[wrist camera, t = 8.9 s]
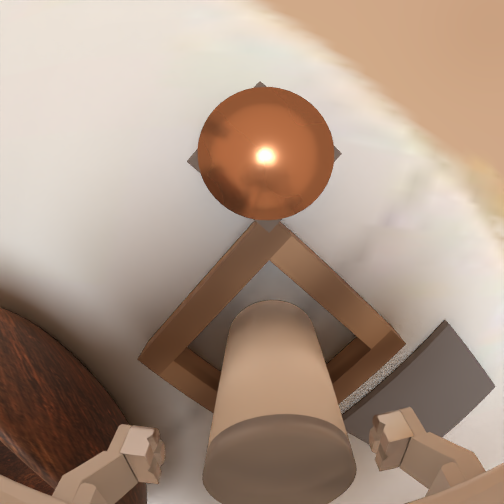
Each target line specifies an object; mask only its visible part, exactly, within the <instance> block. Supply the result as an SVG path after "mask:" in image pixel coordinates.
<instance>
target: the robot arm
mask: <svg viewBox="0 0 504 504" xmlns="http://www.w3.org/2000/svg"><path fill="white" fill-rule="evenodd" d="M372 423H373V427H372V428H371V429H370V433H369V443H370V447H371V450H372V452H374V453H376V457H375V461H376V464H377V466H378V469H379V471H383V470H388V469H392V468H396V467H400V468H401V469H402V470H403V471H405V472H406V473H407V474H409V475H410V476H412V477H413V478H414V479H416V480H417V481H418V482H420V483H421V484H423V485H424V486H425V487H427V488H428V489H429V490H428V492H427V494H426V495H425V497H424V498H421V499H418V500H415V501H412V502H408V503H405V504H504V463H502V464H500V465H498V466H496V467H495V468H493V469H491V470H489V471H487V472H486V471H485V469H484V468H483V466H482V465H481V463H480V461H479V460H478V458H477V457H476V455H475V454H474V452H472V451H469V450H467V449H465V448H463V447H461V446H458V445H456V444H454V443H452V442H450V441H448V440H446V439H443V438H441V437H439V436H437V435H435V434H433V433H431V432H428V433H426V431H425V429H424V428H423V426H422V424H421V422H420V421H419V419H418V417H417V416H416V414H415V413H414V411H413V409H412V408H411V407H408V408H403V409H399V410H395V411H391V412H386V413H381V414H377V415H374V417H373V420H372ZM159 438H160V432H159V430H158V429H157V428H152V427H143V426H134V425H125V424H121V425H120V426H119V427H118V429H117V431H116V433H115V435H114V437H113V440H112V442H111V444H110V446H109V448H108V450H107V451H103V452H101V453H100V454H98V455H96V456H95V457H93V458H91V459H90V460H88V461H86V462H85V463H83V464H81V465H80V466H78V467H76V468H75V469H73V470H71V471H70V472H68V473H66V474H64V475H63V476H62V478H61V480H60V481H59V483H58V485H57V487H56V489H55V491H54V493H53V495H52V496H50V495H48V494H45V493H42V492H40V491H37V490H34V489H32V488H30V487H27V486H25V485H22V484H20V483H18V482H15V481H13V480H11V479H9V478H7V477H5V476H2V475H0V504H115V503H116V502H117V501H118V500H119V499H120V498H122V497H123V496H124V495H125V494H126V493H127V492H128V491H129V490H131V489H132V488H133V487H134V486H135V485H136V484H137V483H138V482H145V483H154V484H158V483H159V479H160V476H161V472H162V471H161V469H160V466H161V465H162V464H164V461H165V446H164V443H163V441H161V440H160V439H159Z"/></svg>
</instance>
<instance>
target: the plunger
mask: <svg viewBox="0 0 504 504" xmlns="http://www.w3.org/2000/svg"><path fill="white" fill-rule="evenodd" d="M333 163H334V145H333V140H332V136H331V132H330V130H329V128H328V125H327V123H326V122H325V120H324V118H323V117H322V115H321V114H320V113H319V112H318V110H317V109H316V108H315V107H314V106H313V105H312V104H310V103H309V102H308V101H307V100H305V99H304V98H302V97H300V96H299V95H297V94H295V93H292V92H290V91H287V90H284V89H280V88H274V87H257V88H251V89H247V90H243V91H241V92H238V93H236V94H234V95H232V96H230V97H228V98H227V99H226V100H224V101H223V102H222V103H220V104H219V105H218V106H217V107H216V108H215V109H214V110H213V112H212V113H211V114H210V115H209V117H208V119H207V120H206V122H205V124H204V126H203V128H202V131H201V134H200V138H199V142H198V164H199V169H200V172H201V175H202V178H203V180H204V183H205V184H206V186H207V188H208V189H209V191H210V192H211V193H212V195H213V196H214V197H215V198H216V199H217V200H218V201H219V202H220V203H221V204H222V205H224V206H225V207H226V208H227V209H229V210H231V211H233V212H234V213H236V214H239V215H241V216H244V217H247V218H251V219H256V220H277V219H282V218H286V217H289V216H292V215H294V214H297V213H298V212H300V211H302V210H304V209H305V208H307V207H308V206H309V205H311V204H312V203H313V202H314V201H315V200H316V199H317V198H318V197H319V195H320V194H321V193H322V192H323V190H324V188H325V187H326V185H327V183H328V181H329V178H330V176H331V173H332V169H333Z"/></svg>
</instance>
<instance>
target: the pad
mask: <svg viewBox="0 0 504 504" xmlns="http://www.w3.org/2000/svg"><path fill="white" fill-rule="evenodd" d="M494 388H495V385H494V384H493V382H492V381H491V379H490V378H489V377H488V375H487V374H486V372H485V371H484V369H483V368H482V367H481V365H480V364H479V363H478V361H477V360H476V358H475V357H474V356H473V354H472V353H471V352H470V350H469V349H468V348H467V346H466V345H465V344H464V342H463V341H462V340H461V339H460V337H459V336H458V335H457V333H456V332H455V331H454V330H453V328H452V327H451V326H450V324H449V323H447V322H446V321H445V320H444V322H443V323H442V324H441V325H440V326H439V327H438V328H437V329H436V330H435V331H434V332H433V333H432V334H431V336H430V337H429V338H428V339H427V340H426V341H425V342H424V343H423V344H422V345H421V346H420V347H419V348H418V349H417V350H416V351H415V352H414V353H413V354H412V355H411V356H410V357H409V358H408V359H407V360H406V361H404V362H403V363H402V364H401V365H400V366H399V367H398V368H397V369H396V370H395V371H394V372H393V373H392V374H390V375H389V376H388V377H387V378H386V379H385V380H384V381H383V382H382V383H380V384H379V385H378V386H377V387H376V388H375V389H374V390H372V391H371V392H370V393H369V394H368V395H366V396H365V397H364V398H363V399H362V400H360V401H359V402H358V403H357V404H356V405H354V406H353V407H352V408H351V409H349V410H348V411H347V412H345V413H344V414H343V415H342V418H343V422H344V425H345V429H346V431H347V432H349V433H350V434H352V435H354V436H356V437H357V438H359V439H361V440H362V441H364V442H366V443H368V444H369V445H370V443H369V433H370V429H371V428H372V427H373V423H372V420H373V417H374V415H377V414H381V413H386V412H391V411H395V410H399V409H403V408H408V407H411V408H412V409H413V411H414V413H415V414H416V416H417V417H418V419H419V421H420V422H421V424H422V426H423V428H424V429H425V431H426V433H428V432H431V433H433V434H435V435H437V436H439V437H441V438H442V437H443V436H444V435H445V434H446V433H448V432H449V431H450V430H451V429H452V428H453V427H455V426H456V425H457V424H458V423H459V422H460V421H461V420H462V419H463V418H464V417H466V416H467V415H468V414H469V413H470V412H471V411H472V410H473V409H474V408H475V407H476V406H477V405H478V404H479V403H480V402H481V401H482V400H483V399H484V398H485V397H486V396H487V395H488V394H489V393H490V392H491V391H492V390H493V389H494Z"/></svg>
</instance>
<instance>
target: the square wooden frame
mask: <svg viewBox="0 0 504 504" xmlns="http://www.w3.org/2000/svg"><path fill="white" fill-rule="evenodd" d="M257 87H266V86H265V85H264V84H263V83H261V82H259V83H258V84H257V85H256V86H255V87H254V88H257ZM341 154H342V153H341V152H340V151H339V150H338V149H337V148H336V147H335V146H334V162H335V160H336V159H337V158H338V157H339V156H340V155H341ZM187 162H188V163H189V164H190V165H191V166H193V167H194V168H195V169H196V170H197V171H199V172H200V169H199V164H198V149H197V150H196V151H195V152H194V154H193V155H192V156H191V157H190V158H189V160H188V161H187ZM200 173H201V172H200ZM254 220H255V221H254V222H253V223H252V224H251V226H250V227H249V228H248V229H247V230H246V231H245V232H244V233H243V234H242V236H241V237H240V238H239V239H238V240H237V241H236V242H235V243H234V244H233V246H232V247H231V248H230V249H229V250H228V251H227V252H226V253H225V255H224V256H223V257H222V258H221V259H220V260H219V261H218V262H217V264H216V265H215V266H214V267H213V268H212V269H211V270H210V271H209V273H208V274H207V275H206V276H205V277H204V278H203V279H202V281H201V282H200V283H199V284H198V285H197V286H196V287H195V288H194V290H193V291H192V292H191V293H190V294H189V295H188V296H187V298H186V299H185V300H184V301H183V302H182V303H181V304H180V306H179V307H178V308H177V309H176V310H175V311H174V312H173V314H172V315H171V316H170V317H169V318H168V319H167V321H166V322H165V323H164V324H163V325H162V326H161V327H160V329H159V330H158V331H157V332H156V333H155V334H154V336H153V337H152V338H151V339H150V340H149V341H148V343H147V344H146V346H145V348H144V349H143V351H142V353H141V354H140V356H139V358H138V359H137V360H139V361H140V362H141V363H143V364H144V365H145V366H146V367H148V368H149V369H150V370H152V371H153V372H154V373H156V374H157V375H158V376H160V377H161V378H163V379H164V380H165V381H167V382H168V383H169V384H171V385H172V386H174V387H175V388H177V389H178V390H179V391H181V392H182V393H184V394H185V395H187V396H188V397H190V398H191V399H193V400H194V401H196V402H197V403H199V404H200V405H202V406H203V407H205V408H206V409H208V410H209V411H211V412H212V413H214V409H215V403H216V398H217V392H218V387H219V382H220V376H221V372H220V371H219V370H217V369H216V368H214V367H213V366H212V365H210V364H209V363H208V362H206V361H205V360H203V359H202V358H201V357H199V356H198V355H197V354H195V353H194V352H193V351H191V350H190V349H189V348H187V346H188V345H189V344H190V343H191V342H192V341H193V340H194V339H195V338H196V337H197V336H198V335H199V334H200V333H201V332H202V331H203V330H204V328H205V327H206V326H207V325H208V324H209V323H210V322H211V321H212V320H213V319H214V318H215V317H216V316H217V315H218V314H219V313H220V312H221V311H222V310H223V309H224V307H225V306H226V305H227V304H228V303H229V302H230V301H231V300H232V299H233V298H234V297H235V296H236V295H237V294H238V293H239V292H240V291H241V290H242V288H243V287H244V286H245V285H246V284H247V283H248V282H249V281H250V280H251V279H252V278H253V277H254V276H255V275H256V274H257V272H258V271H259V270H260V269H261V268H262V267H263V266H264V265H265V264H266V263H267V262H268V261H269V260H270V261H271V262H272V263H273V264H274V265H276V266H277V267H278V268H279V269H280V270H281V271H283V272H284V273H285V274H286V275H287V276H288V277H289V278H291V279H292V280H293V281H294V282H295V283H296V284H297V285H299V286H300V287H301V288H302V289H303V290H304V291H305V292H307V293H308V294H309V295H310V296H311V297H312V298H314V299H315V300H316V301H317V302H318V303H319V304H320V305H322V306H323V307H324V308H325V309H326V310H327V311H328V312H330V313H331V314H332V315H333V316H334V317H335V318H336V319H338V320H339V321H340V322H341V323H342V324H343V325H344V326H346V327H347V328H348V329H349V330H350V331H351V332H352V333H354V334H355V335H356V336H357V337H356V338H355V339H354V340H353V341H352V342H350V343H349V344H348V345H347V346H346V347H345V348H344V349H343V350H342V351H341V352H340V353H339V354H338V355H336V356H335V357H334V358H333V359H332V360H331V361H330V362H329V363H328V364H326V366H327V370H328V373H329V376H330V379H331V382H332V386H333V389H334V392H335V395H336V399H337V402H338V404H339V403H340V402H342V401H343V400H344V399H345V398H347V397H348V396H349V395H350V394H351V393H353V392H354V391H355V390H356V389H357V388H359V387H360V386H361V385H362V384H363V383H364V382H366V381H367V380H368V379H369V378H370V377H371V376H372V375H373V374H375V373H376V372H377V371H378V370H379V369H380V368H381V367H382V366H383V365H385V364H386V363H387V362H388V361H389V360H390V359H391V358H392V357H393V356H394V355H395V354H396V353H397V352H398V351H399V350H400V349H401V348H402V347H403V346H404V345H405V344H406V343H405V342H404V341H403V340H402V338H401V337H400V336H399V335H398V333H397V332H396V331H395V330H394V328H393V327H392V326H391V325H390V324H389V323H387V322H386V321H385V320H384V319H383V318H382V317H381V316H380V315H379V314H378V313H377V312H376V311H375V310H374V309H373V308H372V307H371V306H370V305H369V304H368V303H367V302H366V301H365V300H364V299H363V298H362V297H361V296H360V295H359V294H358V293H357V292H355V291H354V290H353V289H352V288H351V287H350V286H349V285H348V284H347V283H346V282H345V281H344V280H343V279H342V278H341V277H340V276H339V275H338V274H336V273H335V272H334V271H333V270H332V269H331V268H330V267H329V266H328V265H327V264H326V263H325V262H324V261H323V260H321V259H320V258H319V257H318V256H317V255H316V254H315V253H314V252H313V251H312V250H311V249H310V248H308V247H307V246H306V245H305V244H304V243H303V242H302V241H301V240H300V239H299V238H298V237H296V236H295V235H294V234H293V233H292V232H291V231H290V230H289V229H288V228H287V227H285V226H284V225H283V224H282V223H281V222H280V221H281V219H277V220H256V219H254Z"/></svg>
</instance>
